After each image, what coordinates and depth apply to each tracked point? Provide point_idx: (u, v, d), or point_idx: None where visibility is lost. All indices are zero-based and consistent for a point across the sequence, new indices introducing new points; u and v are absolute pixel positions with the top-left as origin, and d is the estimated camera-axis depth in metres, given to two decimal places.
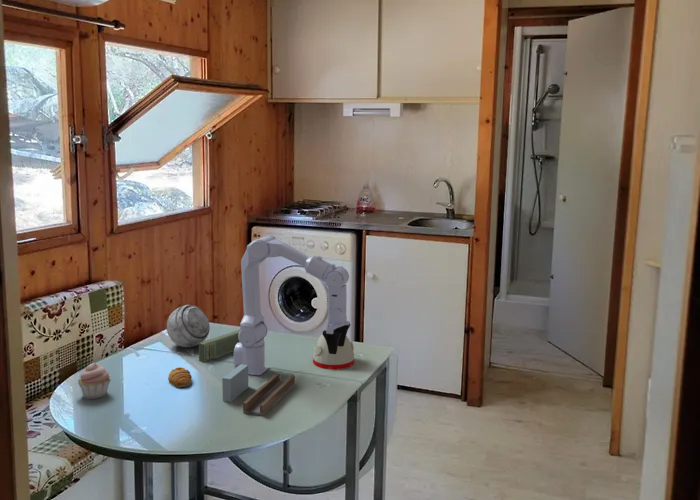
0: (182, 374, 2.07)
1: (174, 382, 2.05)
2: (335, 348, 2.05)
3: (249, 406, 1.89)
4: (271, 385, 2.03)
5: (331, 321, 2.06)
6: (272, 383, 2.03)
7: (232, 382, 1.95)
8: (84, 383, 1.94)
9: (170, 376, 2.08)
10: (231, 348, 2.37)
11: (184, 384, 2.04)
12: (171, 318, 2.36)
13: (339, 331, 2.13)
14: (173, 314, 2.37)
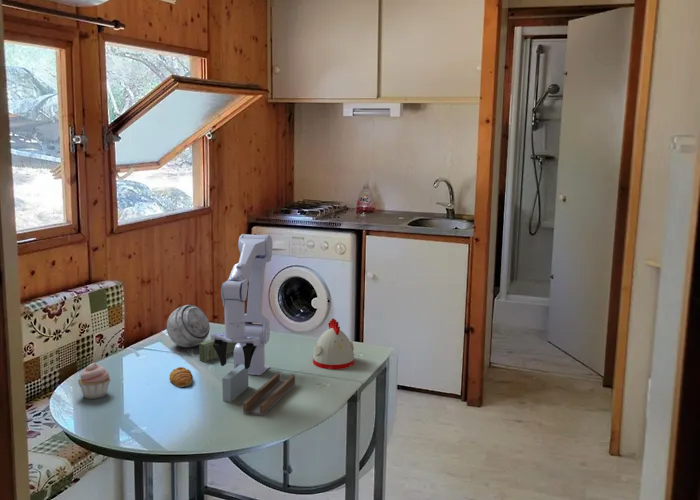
0: (183, 374, 2.07)
1: (176, 382, 2.05)
2: None
3: (249, 406, 1.89)
4: (271, 385, 2.03)
5: None
6: (272, 383, 2.03)
7: (232, 382, 1.95)
8: (84, 383, 1.94)
9: (171, 376, 2.08)
10: (232, 349, 2.37)
11: (186, 384, 2.05)
12: (171, 318, 2.36)
13: None
14: (173, 314, 2.37)
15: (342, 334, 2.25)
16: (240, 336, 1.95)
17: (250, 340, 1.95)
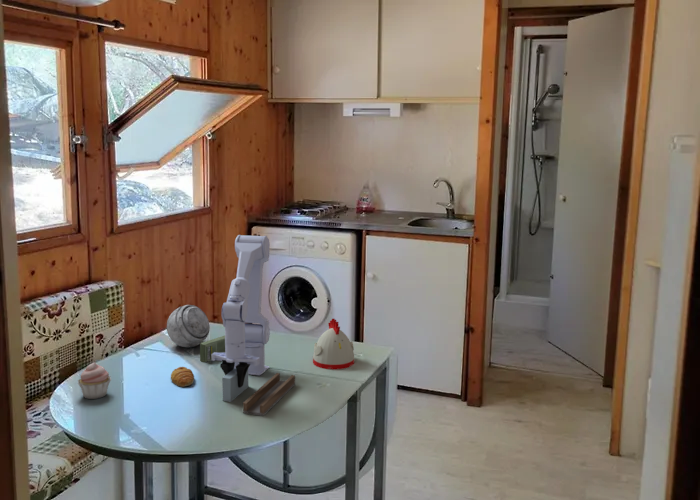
0: (185, 374, 2.08)
1: (177, 381, 2.06)
2: None
3: (249, 406, 1.89)
4: (271, 385, 2.03)
5: None
6: (272, 383, 2.03)
7: (232, 381, 1.95)
8: (84, 383, 1.94)
9: (173, 375, 2.08)
10: None
11: (187, 383, 2.05)
12: (171, 318, 2.36)
13: None
14: (173, 314, 2.37)
15: (342, 334, 2.25)
16: (240, 356, 1.97)
17: (250, 360, 1.96)
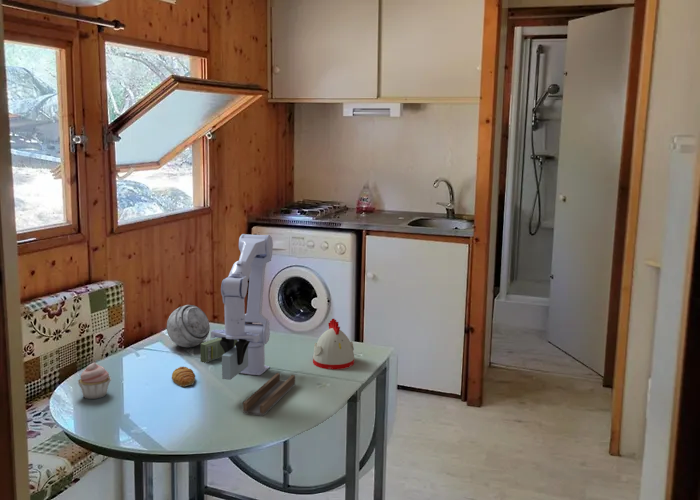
0: (186, 373, 2.08)
1: (178, 381, 2.06)
2: None
3: (249, 406, 1.89)
4: (271, 385, 2.03)
5: None
6: (272, 383, 2.03)
7: (232, 359, 1.94)
8: (84, 383, 1.94)
9: (174, 375, 2.09)
10: None
11: (189, 383, 2.05)
12: (171, 318, 2.36)
13: None
14: (173, 314, 2.37)
15: (342, 334, 2.25)
16: (240, 333, 1.95)
17: (250, 337, 1.95)
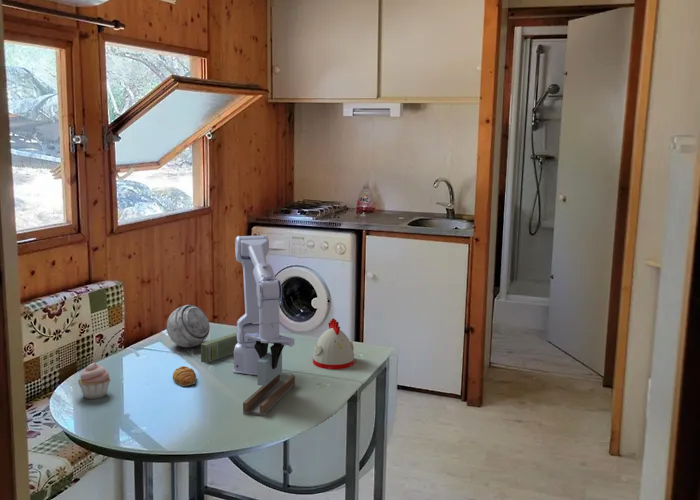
0: (187, 373, 2.08)
1: (179, 381, 2.06)
2: None
3: (249, 406, 1.89)
4: (271, 385, 2.03)
5: None
6: (272, 383, 2.03)
7: (267, 365, 1.91)
8: (84, 383, 1.94)
9: (175, 375, 2.09)
10: None
11: (190, 383, 2.05)
12: (171, 318, 2.36)
13: None
14: (173, 314, 2.37)
15: (342, 334, 2.25)
16: (275, 337, 1.92)
17: (285, 341, 1.92)
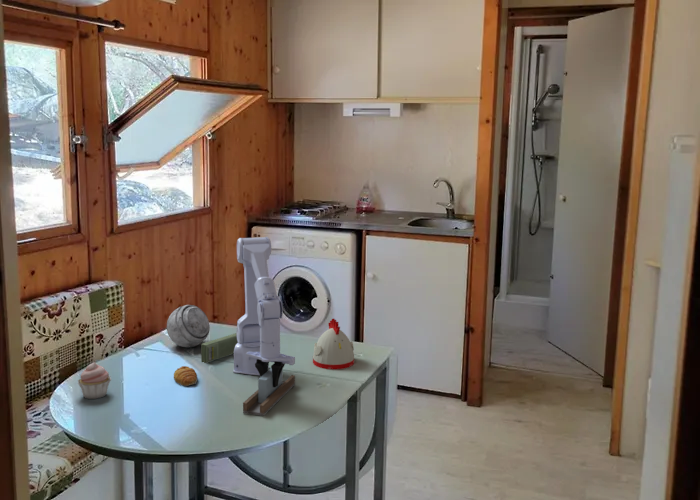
0: (188, 373, 2.08)
1: (181, 381, 2.06)
2: None
3: (249, 406, 1.89)
4: None
5: None
6: None
7: (268, 383, 1.92)
8: (84, 383, 1.94)
9: (176, 375, 2.09)
10: None
11: (191, 382, 2.06)
12: (171, 318, 2.36)
13: None
14: (173, 314, 2.37)
15: (342, 334, 2.25)
16: (276, 355, 1.93)
17: (286, 359, 1.93)
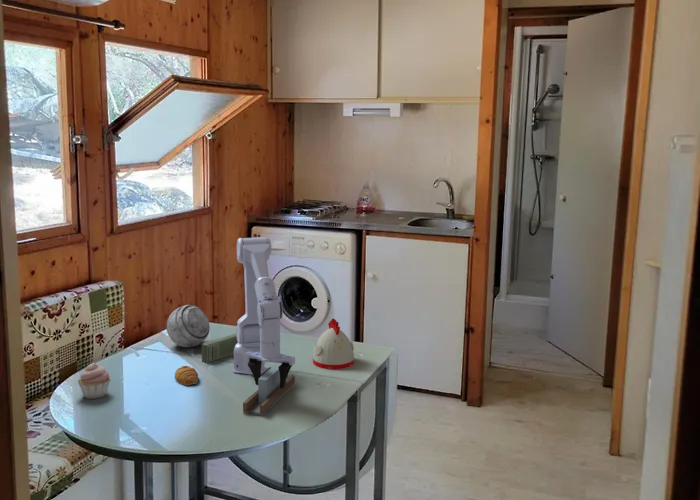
0: (189, 373, 2.09)
1: (182, 380, 2.07)
2: None
3: (249, 406, 1.89)
4: None
5: None
6: None
7: (268, 383, 1.92)
8: (84, 383, 1.94)
9: (177, 375, 2.09)
10: None
11: (193, 382, 2.06)
12: (171, 318, 2.36)
13: None
14: (173, 314, 2.37)
15: (342, 334, 2.25)
16: (276, 355, 1.93)
17: (286, 359, 1.93)
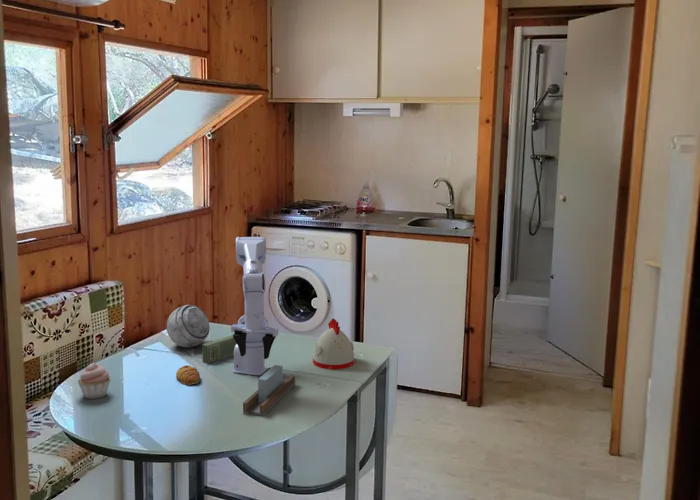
0: (191, 372, 2.09)
1: (184, 380, 2.07)
2: None
3: (249, 406, 1.89)
4: None
5: None
6: None
7: (268, 383, 1.92)
8: (84, 383, 1.94)
9: (179, 374, 2.10)
10: None
11: (195, 381, 2.07)
12: (171, 318, 2.36)
13: None
14: (173, 314, 2.37)
15: (342, 334, 2.25)
16: (260, 327, 2.01)
17: (269, 331, 2.01)
